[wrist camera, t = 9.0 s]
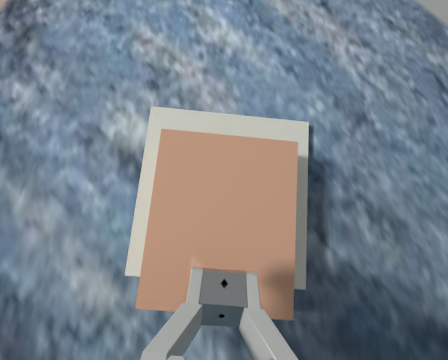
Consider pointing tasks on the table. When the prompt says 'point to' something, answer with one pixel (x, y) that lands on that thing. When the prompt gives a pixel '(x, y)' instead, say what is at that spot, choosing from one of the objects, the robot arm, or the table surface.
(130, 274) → the mat
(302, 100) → the table surface
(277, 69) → the table surface
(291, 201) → the tile
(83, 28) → the table surface
